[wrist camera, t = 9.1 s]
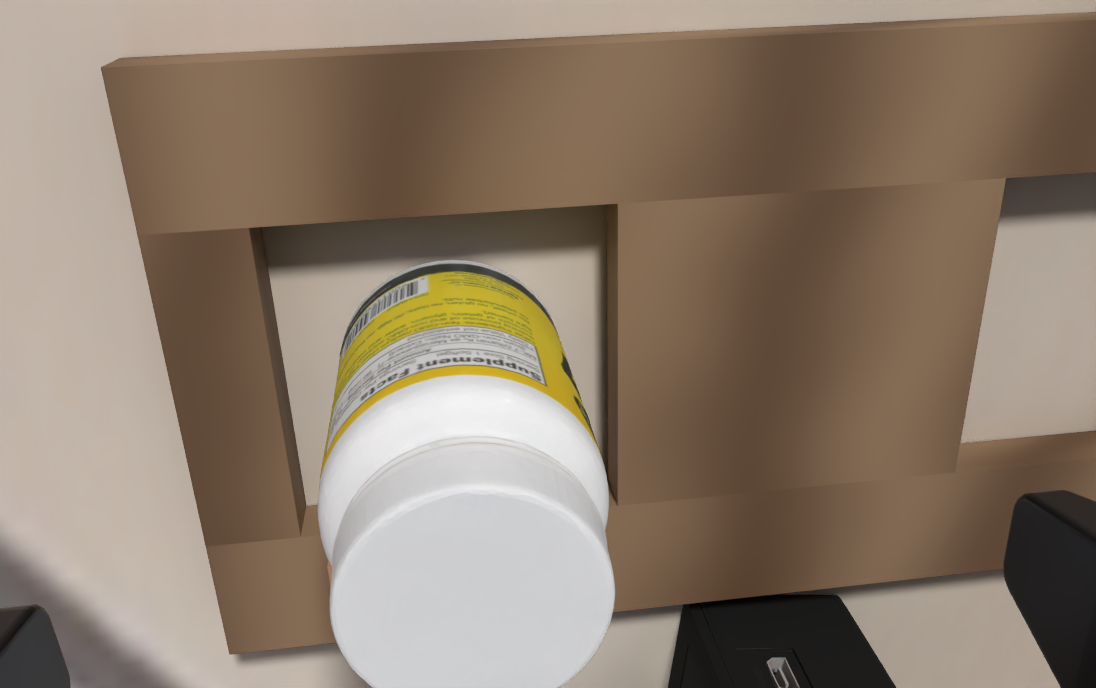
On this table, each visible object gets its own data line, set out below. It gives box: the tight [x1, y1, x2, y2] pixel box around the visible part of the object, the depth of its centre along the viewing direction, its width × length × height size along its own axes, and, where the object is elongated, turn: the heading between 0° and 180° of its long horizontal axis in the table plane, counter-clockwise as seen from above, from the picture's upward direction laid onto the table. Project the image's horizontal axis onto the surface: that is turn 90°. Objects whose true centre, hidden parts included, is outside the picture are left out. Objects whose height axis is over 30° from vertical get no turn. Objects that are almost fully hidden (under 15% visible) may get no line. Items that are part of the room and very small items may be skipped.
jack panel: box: [101, 12, 1096, 654], centre depth 21 cm, size 26×13×1 cm, turn 92°
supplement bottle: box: [318, 260, 615, 688], centre depth 17 cm, size 5×5×8 cm
